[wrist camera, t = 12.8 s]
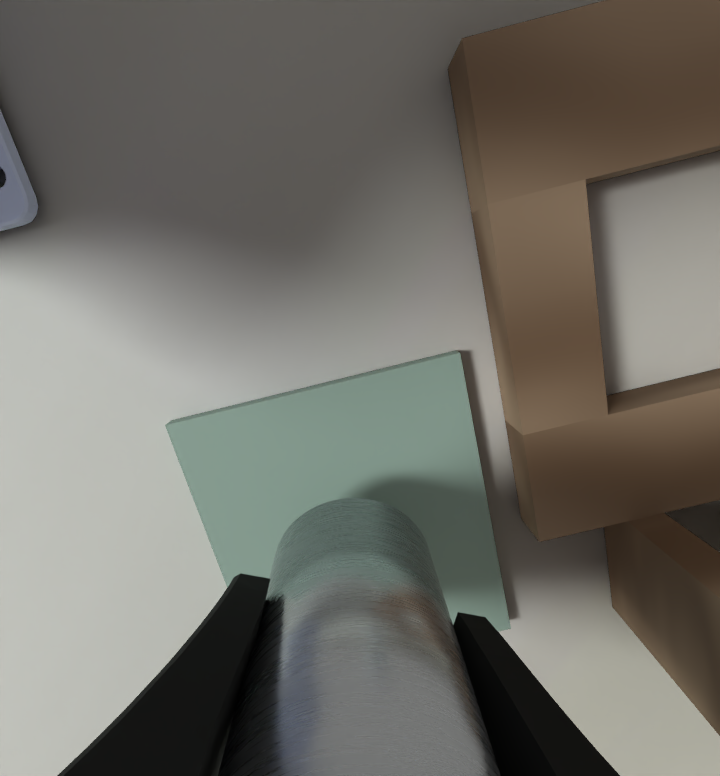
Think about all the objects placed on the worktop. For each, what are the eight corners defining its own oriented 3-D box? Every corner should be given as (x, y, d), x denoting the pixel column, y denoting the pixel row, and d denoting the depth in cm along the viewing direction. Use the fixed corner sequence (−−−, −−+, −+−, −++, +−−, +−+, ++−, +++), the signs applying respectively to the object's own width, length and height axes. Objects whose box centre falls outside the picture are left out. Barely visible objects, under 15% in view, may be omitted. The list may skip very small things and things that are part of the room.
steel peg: (294, 481, 10) (220, 767, 4) (451, 518, 10) (592, 827, 4) (258, 617, 11) (156, 1011, 5) (404, 645, 11) (470, 1042, 5)
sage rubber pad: (171, 420, 11) (165, 425, 11) (456, 350, 11) (460, 352, 11) (266, 673, 13) (264, 684, 13) (505, 618, 13) (511, 628, 13)
